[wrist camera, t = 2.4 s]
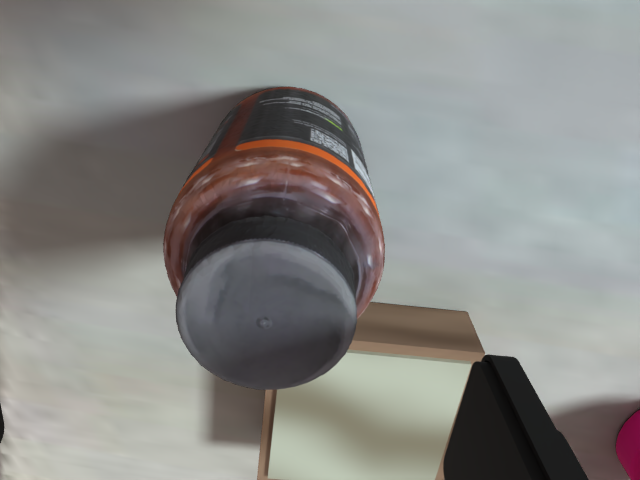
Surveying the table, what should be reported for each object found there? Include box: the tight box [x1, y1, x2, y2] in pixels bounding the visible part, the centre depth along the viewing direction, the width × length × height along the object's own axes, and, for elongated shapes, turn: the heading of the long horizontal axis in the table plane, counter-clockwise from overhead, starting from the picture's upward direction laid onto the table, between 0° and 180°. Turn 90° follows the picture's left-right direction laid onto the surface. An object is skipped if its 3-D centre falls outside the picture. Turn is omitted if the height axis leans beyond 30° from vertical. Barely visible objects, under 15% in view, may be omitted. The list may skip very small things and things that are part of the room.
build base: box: [257, 302, 485, 480], centre depth 25 cm, size 9×9×3 cm
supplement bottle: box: [163, 87, 385, 390], centre depth 16 cm, size 6×6×11 cm
